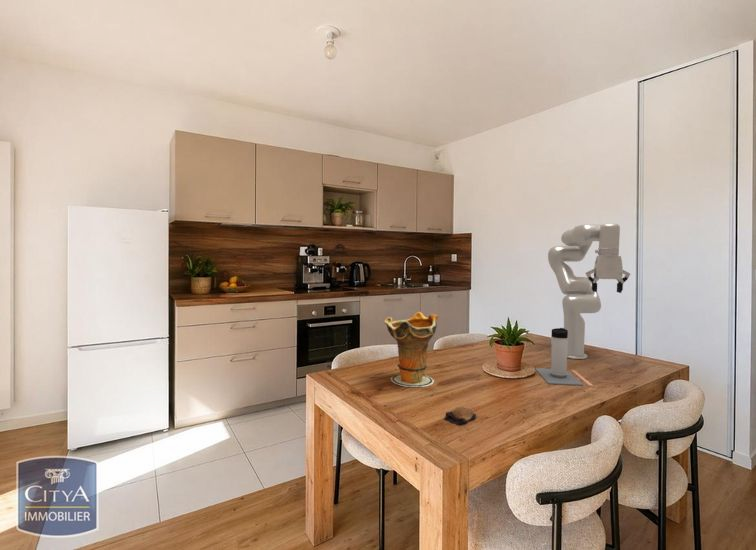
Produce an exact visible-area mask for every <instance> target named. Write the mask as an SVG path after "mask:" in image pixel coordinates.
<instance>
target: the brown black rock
mask: <svg viewBox="0 0 756 550" xmlns="http://www.w3.org/2000/svg"><path fill="white" fill-rule="evenodd" d="M477 417H479V416H478V414H476V413H474V412H473V411H472V410H471V409H470V408H467V407H465V406H459V407H456V408H455V409H452V410H450V411H446V413H445V417H444V418H443V420H444V421H445V422H448V423H451V424H453V425H456V426H462V427H463V426H466V425H468V424H470V423H471V422H472V421H475V420H476V418H477Z"/></svg>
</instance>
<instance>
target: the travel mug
mask: <svg viewBox="0 0 756 550" xmlns="http://www.w3.org/2000/svg"><path fill="white" fill-rule="evenodd" d="M567 335H568V330H566V329H564V327H559V328H556V327H555V328H552V329H551V340H550V366H549V367H550V368H549V369H550V375H551V376H553V377H556V378H565V377H567V371H568V358H567V345H568V336H567Z"/></svg>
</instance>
